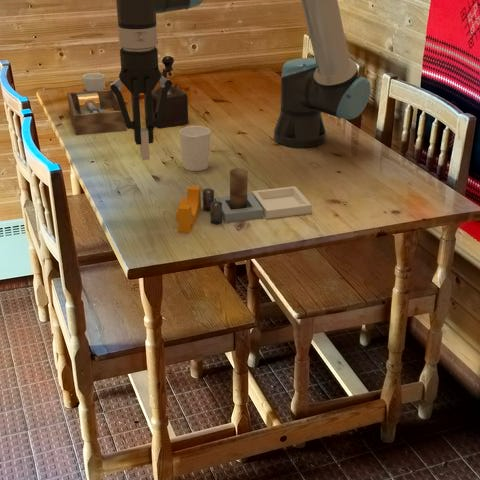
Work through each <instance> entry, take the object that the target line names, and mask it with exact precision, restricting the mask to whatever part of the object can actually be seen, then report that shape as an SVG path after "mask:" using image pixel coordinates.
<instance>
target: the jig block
mask: <svg viewBox="0 0 480 480" xmlns="http://www.w3.org/2000/svg"><path fill="white" fill-rule="evenodd" d="M214 201H220V202H221V203H222V221H223V222H224V223H225V224H226V223H232V222H233V223H234V222H239V221H240V222H241V221H248V220H255V219H263V218H264V215H263V209H262V207H261V206H260V205H259V203H258V202H257V201H256V199H255V198H254V196H253V195H252V193H247V208H242V209H234V210H231V209H230V195H229V196H220V197H214Z"/></svg>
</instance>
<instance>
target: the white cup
mask: <svg viewBox="0 0 480 480" xmlns="http://www.w3.org/2000/svg"><path fill="white" fill-rule="evenodd" d="M179 137H180V139H179V141H180V149H181V150H180V151H181V157H182V167H183V168H184V170H187V171H190V172H201V171H205V170H207V169H208V168H209V160H210V150H211V149H210V148H211V147H210V145H211V144H210V143H211V130H210V128H208V127H206V126H202V125H201V126H200V125H190V126H185V127H182V128H181V129H179Z"/></svg>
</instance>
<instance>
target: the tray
mask: <svg viewBox="0 0 480 480" xmlns="http://www.w3.org/2000/svg"><path fill="white" fill-rule="evenodd" d="M251 194H252V195H253V196H254V198H255V199H256V201H257V202H258V203H259V205H260V206H261V207H262V209H263V218H265V219H266V220H271V219H280V218H288V217H295V216H302V215H309V214H312V210H313V209H312V208H313V207H312V206H313V204H311V202H310V201H309V200H308V199H307V197H305V195H304V194H303V193H302V192H301V191H300V190H299V189H298V188H297V186H296V185H294V186H286V187H277V188H269V189H260V190H258V189H257V190H252V191H251Z"/></svg>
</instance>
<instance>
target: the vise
mask: <svg viewBox="0 0 480 480" xmlns="http://www.w3.org/2000/svg"><path fill="white" fill-rule="evenodd" d="M76 102H77V110H76V113H77V114H87V113H98V112H106V111H105V109H100V102H99V96H98V94H97V92H93V93H83V94H76Z"/></svg>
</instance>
